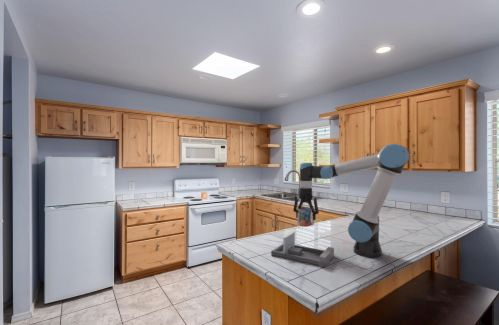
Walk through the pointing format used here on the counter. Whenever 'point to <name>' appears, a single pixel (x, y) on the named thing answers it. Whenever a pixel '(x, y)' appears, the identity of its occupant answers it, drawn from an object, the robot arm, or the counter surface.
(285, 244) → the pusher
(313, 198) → the robot arm
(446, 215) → the counter surface
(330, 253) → the grey tray
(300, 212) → the mug
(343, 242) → the counter surface
